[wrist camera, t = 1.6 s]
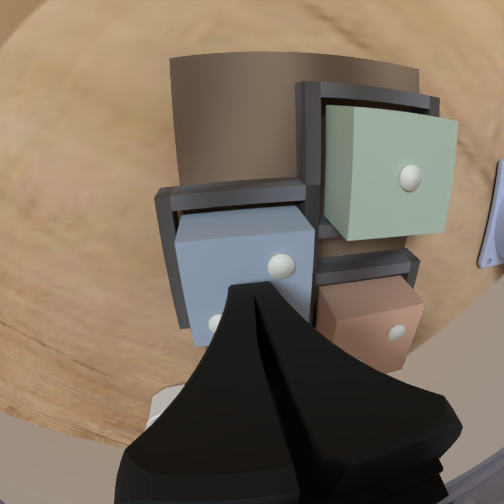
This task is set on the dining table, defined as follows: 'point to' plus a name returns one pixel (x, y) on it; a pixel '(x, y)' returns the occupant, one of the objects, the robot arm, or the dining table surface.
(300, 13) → the dining table surface
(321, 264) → the board
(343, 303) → the tile two
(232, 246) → the tile three
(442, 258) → the dining table surface
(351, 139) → the tile one
